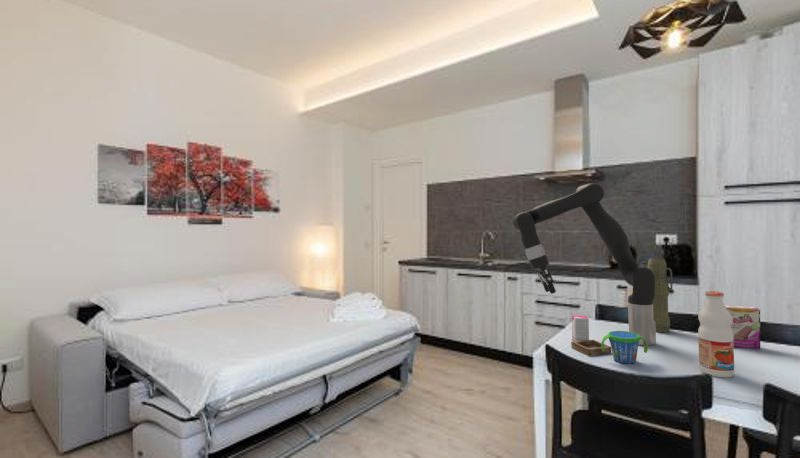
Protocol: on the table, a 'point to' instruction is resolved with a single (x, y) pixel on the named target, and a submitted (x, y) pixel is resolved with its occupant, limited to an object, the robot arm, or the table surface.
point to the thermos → (660, 294)
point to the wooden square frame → (590, 347)
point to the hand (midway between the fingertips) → (550, 292)
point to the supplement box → (580, 328)
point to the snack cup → (624, 345)
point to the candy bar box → (745, 326)
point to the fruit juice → (716, 337)
